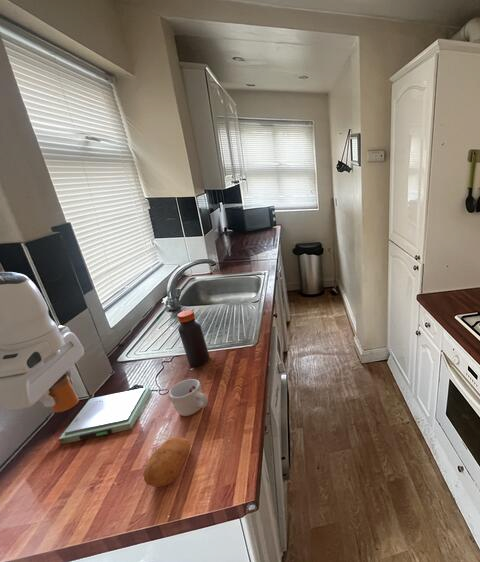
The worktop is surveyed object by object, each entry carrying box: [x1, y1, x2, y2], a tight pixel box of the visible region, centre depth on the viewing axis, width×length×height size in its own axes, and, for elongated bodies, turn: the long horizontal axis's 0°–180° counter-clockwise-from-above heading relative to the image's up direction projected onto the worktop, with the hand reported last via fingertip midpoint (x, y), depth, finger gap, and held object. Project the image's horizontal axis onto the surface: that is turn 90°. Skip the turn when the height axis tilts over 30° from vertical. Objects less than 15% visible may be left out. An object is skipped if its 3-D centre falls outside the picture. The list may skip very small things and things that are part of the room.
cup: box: [167, 378, 209, 417], centre depth 89 cm, size 11×8×8 cm
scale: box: [58, 387, 152, 445], centre depth 89 cm, size 16×16×3 cm
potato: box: [143, 436, 191, 488], centre depth 72 cm, size 7×13×7 cm, turn 8°
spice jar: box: [48, 374, 80, 413], centre depth 71 cm, size 5×5×7 cm
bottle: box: [176, 309, 211, 368], centre depth 109 cm, size 7×7×20 cm
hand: (60, 395), depth 71 cm, fingers closed on spice jar, 4 cm apart
